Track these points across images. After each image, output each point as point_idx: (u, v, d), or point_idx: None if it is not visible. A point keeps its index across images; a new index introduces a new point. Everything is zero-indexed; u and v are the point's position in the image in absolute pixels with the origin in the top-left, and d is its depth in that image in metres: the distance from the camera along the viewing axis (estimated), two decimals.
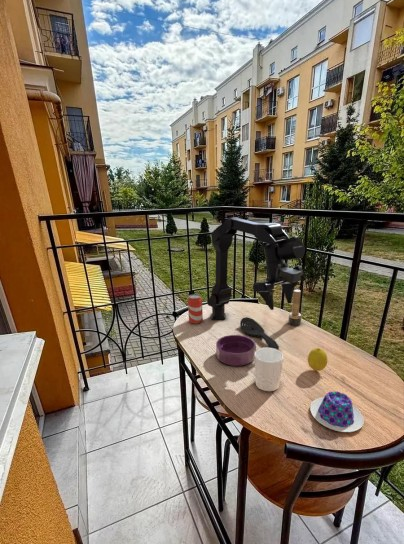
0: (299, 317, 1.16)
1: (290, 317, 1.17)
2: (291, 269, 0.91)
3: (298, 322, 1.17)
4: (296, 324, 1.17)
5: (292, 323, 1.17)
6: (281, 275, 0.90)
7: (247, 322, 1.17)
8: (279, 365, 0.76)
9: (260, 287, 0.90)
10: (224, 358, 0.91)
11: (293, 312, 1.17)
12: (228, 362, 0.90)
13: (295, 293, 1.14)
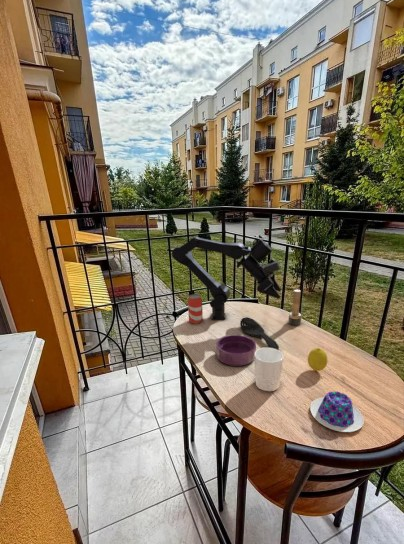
0: (299, 317, 1.16)
1: (290, 317, 1.17)
2: (269, 263, 1.15)
3: (298, 322, 1.17)
4: (296, 324, 1.17)
5: (292, 323, 1.17)
6: (268, 270, 1.12)
7: (247, 322, 1.17)
8: (279, 365, 0.76)
9: (265, 284, 1.08)
10: (224, 358, 0.91)
11: (293, 312, 1.17)
12: (228, 362, 0.90)
13: (295, 293, 1.14)
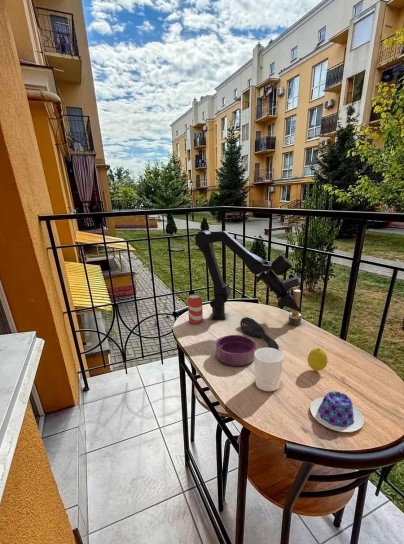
0: (299, 317, 1.16)
1: (290, 317, 1.17)
2: (289, 278, 1.15)
3: (298, 322, 1.17)
4: (296, 324, 1.17)
5: (292, 323, 1.17)
6: (288, 285, 1.12)
7: (247, 322, 1.17)
8: (279, 365, 0.76)
9: (286, 300, 1.07)
10: (224, 358, 0.91)
11: (293, 312, 1.17)
12: (228, 362, 0.90)
13: (295, 293, 1.14)
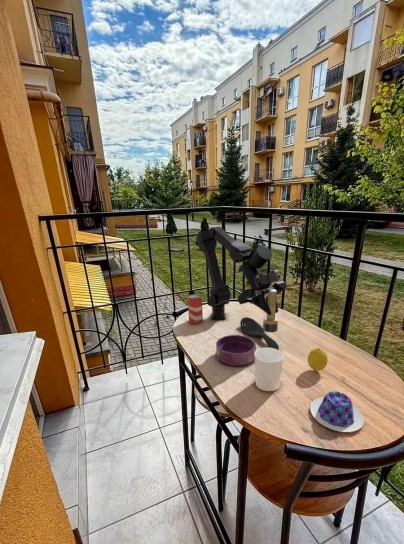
0: (270, 323, 0.96)
1: None
2: None
3: (269, 328, 0.97)
4: (266, 330, 0.98)
5: (263, 328, 0.99)
6: (259, 281, 0.95)
7: (247, 322, 1.17)
8: (279, 365, 0.76)
9: (242, 296, 0.94)
10: (224, 358, 0.91)
11: (267, 315, 0.98)
12: (228, 362, 0.90)
13: (268, 292, 0.95)
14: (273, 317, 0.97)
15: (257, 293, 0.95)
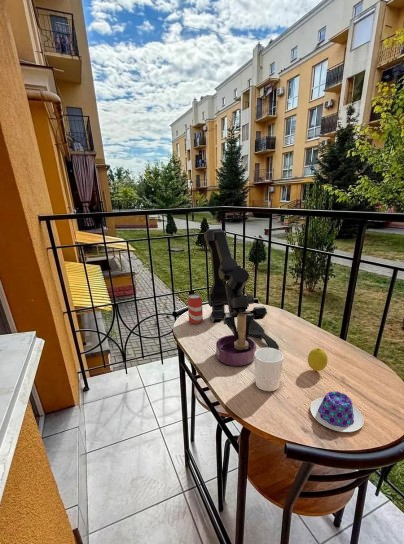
0: (237, 347, 0.93)
1: None
2: None
3: None
4: None
5: None
6: (231, 303, 0.93)
7: None
8: (279, 365, 0.76)
9: (211, 315, 0.95)
10: (224, 358, 0.91)
11: None
12: (228, 362, 0.90)
13: None
14: (241, 342, 0.93)
15: (227, 315, 0.94)
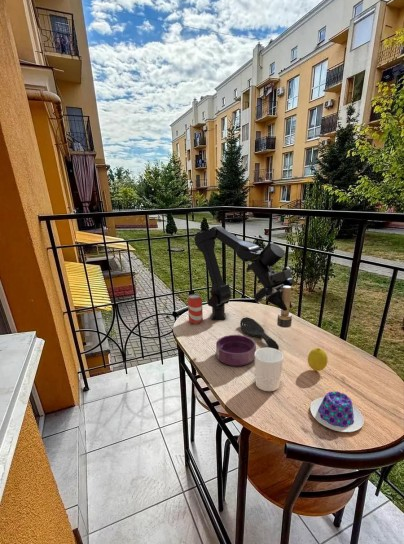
0: (286, 318, 0.99)
1: (278, 316, 1.02)
2: None
3: (285, 324, 1.00)
4: (282, 326, 1.00)
5: (278, 323, 1.01)
6: (274, 278, 0.97)
7: (247, 322, 1.17)
8: (279, 365, 0.76)
9: (260, 294, 0.95)
10: (224, 358, 0.91)
11: (281, 311, 1.01)
12: (228, 362, 0.90)
13: (283, 289, 0.97)
14: (288, 312, 1.00)
15: (273, 290, 0.97)
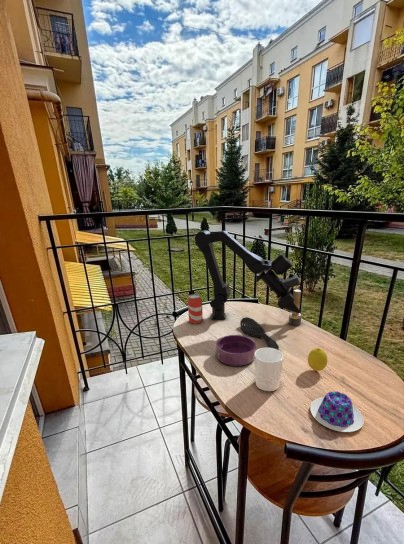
0: (299, 317, 1.16)
1: (290, 317, 1.17)
2: (289, 278, 1.15)
3: (298, 322, 1.17)
4: (296, 324, 1.17)
5: (292, 323, 1.17)
6: (289, 285, 1.12)
7: (247, 322, 1.17)
8: (279, 365, 0.76)
9: (286, 300, 1.07)
10: (224, 358, 0.91)
11: (293, 312, 1.17)
12: (228, 362, 0.90)
13: (295, 293, 1.14)
14: None
15: None
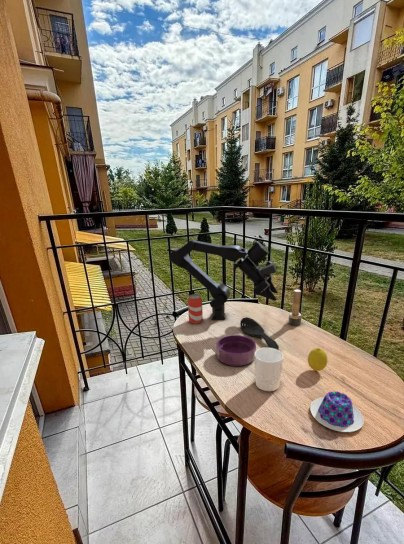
0: (299, 317, 1.16)
1: (290, 317, 1.17)
2: (266, 266, 1.15)
3: (298, 322, 1.17)
4: (296, 324, 1.17)
5: (292, 323, 1.17)
6: (265, 272, 1.13)
7: (247, 322, 1.17)
8: (279, 365, 0.76)
9: (261, 287, 1.08)
10: (224, 358, 0.91)
11: (293, 312, 1.17)
12: (228, 362, 0.90)
13: (295, 293, 1.14)
14: (298, 312, 1.17)
15: None
